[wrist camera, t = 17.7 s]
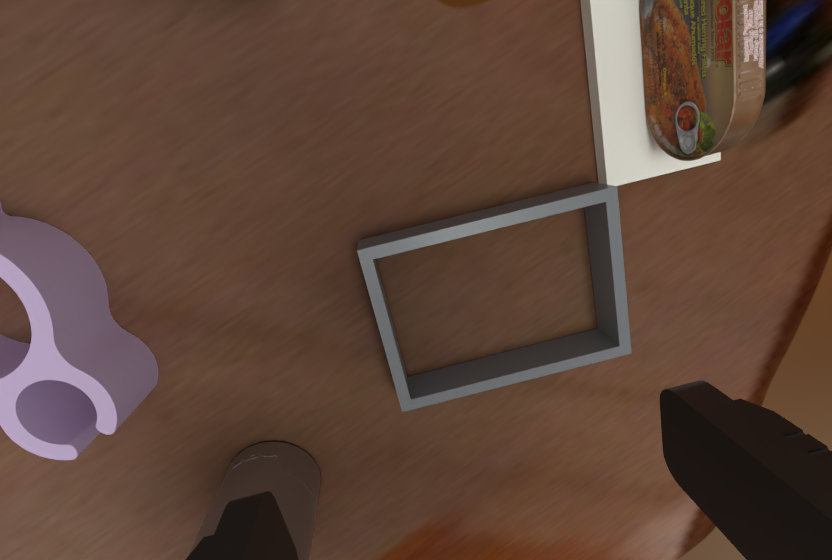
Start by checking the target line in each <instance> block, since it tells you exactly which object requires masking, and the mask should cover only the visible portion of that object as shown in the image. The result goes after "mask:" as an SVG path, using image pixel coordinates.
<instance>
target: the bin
mask: <svg viewBox="0 0 832 560" xmlns="http://www.w3.org/2000/svg"><path fill="white" fill-rule="evenodd" d="M583 207H584V211H585V220H586V229H587V238H588V247H589V256H590V265H591V274H592V283H593V292H594V302H595V311H596V320H597V329H593V330H589V331H585V332H581V333H577V334H573V335H569V336H566V337H562V338H558V339H554V340H550V341H546V342H542V343H538V344H534V345H530V346H526V347H522V348H518V349H515V350H511V351H507V352H503V353H499V354H495V355H491V356H487V357H483V358H479V359H475V360H471V361H467V362H464V363H460V364H456V365H452V366H448V367H444V368H440V369H436V370H432V371H428V372H424V373H420V374H416V375H413V376H409V377H407V374H406V370H405V367H404V363H403V359H402V355H401V352H400V348H399V344H398V340H397V337H396V333H395V329H394V326H393V322H392V318H391V314H390V311H389V307H388V303H387V299H386V296H385V292H384V288H383V285H382V281H381V277H380V273H379V270H378V266H377V262H376V259H377V258H381V257H385V256H389V255H393V254H397V253H401V252H405V251H409V250H413V249H417V248H421V247H425V246H429V245H434V244H438V243H442V242H446V241H450V240H454V239H458V238H462V237H466V236H470V235H474V234H478V233H482V232H486V231H490V230H494V229H498V228H502V227H506V226H510V225H514V224H518V223H522V222H526V221H530V220H534V219H538V218H542V217H546V216H550V215H554V214H558V213H562V212H566V211H570V210H575V209H579V208H583ZM357 252H358V256H359V260H360V263H361V267H362V270H363V274H364V277H365V281H366V285H367V288H368V292H369V295H370V299H371V302H372V306H373V310H374V313H375V317H376V320H377V324H378V327H379V331H380V335H381V338H382V342H383V345H384V349H385V352H386V356H387V360H388V363H389V367H390V370H391V374H392V377H393V381H394V384H395V388H396V392H397V395H398V399H399V402H400V406H401V409H402V412H405V411H409V410H413V409H417V408H421V407H424V406H428V405H432V404H436V403H440V402H444V401H448V400H452V399H456V398H460V397H463V396H467V395H471V394H475V393H479V392H483V391H487V390H491V389H495V388H498V387H502V386H506V385H510V384H514V383H518V382H522V381H526V380H530V379H534V378H537V377H541V376H545V375H549V374H553V373H557V372H561V371H565V370H569V369H573V368H576V367H580V366H584V365H588V364H592V363H596V362H600V361H604V360H608V359H611V358H615V357H619V356H623V355H627V354H631V342H630V331H629V319H628V307H627V296H626V284H625V272H624V261H623V249H622V237H621V226H620V214H619V202H618V190H617V186H613V185H607V184H600V183H594V182H592V183H588V184H584V185H580V186H576V187H572V188H568V189H564V190H560V191H556V192H552V193H547V194H543V195H539V196H535V197H531V198H527V199H523V200H519V201H515V202H511V203H507V204H503V205H499V206H495V207H491V208H487V209H483V210H479V211H475V212H471V213H467V214H462V215H458V216H454V217H450V218H446V219H442V220H438V221H434V222H430V223H426V224H422V225H418V226H414V227H410V228H406V229H402V230H398V231H394V232H390V233H386V234H381V235H377V236H373V237H369V238H365V239H361V240H359V241H358V247H357Z"/></svg>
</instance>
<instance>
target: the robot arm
mask: <svg viewBox="0 0 832 560" xmlns="http://www.w3.org/2000/svg"><path fill="white" fill-rule="evenodd" d="M660 412H661V427H662V442H663V454H664V458H665V461H666V464H667V466H668V468H669V471H670V472H671V474H672V476H673V478H674V479H675V481H676V482H677V483H678V484H679V486H680V487H681V488H682V489H683V490H684V491H685V492H686V493H687V495H688V496H689V497H690V498H691V499H692V500H693V501H694V502H695V503H696V504H697V506H698V507H699V508H700V509H701V510H702V511H703V512H704V513H705V514H706V515H707V517H708V518H709V519H710V520H711V521H712V522H713V523H714V524H715V525H716V526H717V528H718V529H719V530H720V531H721V532H722V533H723V534H724V535H725V536H726V537H727V539H728V540H729V541H730V542H731V543H732V544H733V545H734V546H735V547H736V548H737V550H738V551H739V552H740V553H741V554H742V555H743V556H744V557H745V558H746V559H747V560H832V451H829V450H828V448H827V446H826V445H824V444H823V443H821V442H820V441H818V440H817V439H815V438H814V437H812V436H811V435H809V434H807V435H805V434H804V433H803V430H802V429H800V428H798V427H797V426H795V425H794V424H792V423H791V422H789V421H788V420H786V419H785V418H783V417H781V416H780V415H779V414H777V413H775V412H774V411H771V410H769V409H766V408H764V407H761V406H758V405H756V404H753V403H750V402H748V401H745V400H742V399H737V400H732V399H731V398H729V397H728V396H726V395H725V394H724V393H722V392H721V391H719V390H718V389H716V388H715V387H714V386H712V385H711V384H709V383H707V382H705V381H696V382H692V383H688V384H684V385H680V386H676V387H673V388H669V389H665V390H663V391H662V392H661V394H660ZM320 484H321V476H320V471H319V468H318V466H317V464H316V462H315V461H314V459H313V458H312V457H311V456H310V455H309V454H308V453H307V452H305V451H304V450H302V449H300V448H299V447H296V446H294V445H291V444H288V443H283V442H264V443H258V444H255V445H253V446H250V447H248V448H246V449H245V450H243V451H241V452H240V453H239V454H238V455H237V456H236V457H235V458H234V459H233V461H232V462H231V464H230V465H229V468H228V470H227V472H226V474H225V476H224V479H223V481H222V483H221V485H220V487H219V490H218V492H217V494H216V496H215V498H214V500H213V503H212V505H211V507H210V509H209V511H208V514H207V516H206V518H205V520H204V522H203V525H202V527H201V529H200V531H199V533H198V536H197V538H196V540H195V542H194V545H193V547H192V549H191V551H190V553H189V556H188V557H187V559H186V560H309V556H310V550H311V543H312V537H313V530H314V524H315V517H316V511H317V504H318V498H319V491H320Z"/></svg>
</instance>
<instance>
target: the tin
mask: <svg viewBox="0 0 832 560" xmlns="http://www.w3.org/2000/svg"><path fill="white" fill-rule="evenodd" d="M639 13H640V28H641V43H642V57H643V72H644V88H645V104H646V115H647V121H648V125H649V128H650V131H651V133H652V135H653V138H654V139H655V141H656V143H657V144H658V145H659V147H660V148H661V149H662V150H663V151H664V152H665V153H667V154H668V155H669V156H671V157H673V158H675V159H678V160H682V161H693V160H697V159H700V158H702V157H704V156H707V155H712V154H716V153H719V152H722V151H724V150H727V149H729V148H731V147H733V146H734V145H736V144H737V143H738V142H740V141H741V140H742V139H743V138H744V137H745V136H746V135H747V134H748V133H749V131H750V130H751V129H752V127H753V126H754V124H755V122H756V121H757V119H758V117H759V114H760V111H761V109H762V105H763V101H764V96H765V74H766V0H640V5H639Z"/></svg>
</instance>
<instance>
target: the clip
mask: <svg viewBox="0 0 832 560" xmlns="http://www.w3.org/2000/svg"><path fill="white" fill-rule="evenodd" d="M0 277H1V278H2V279H3V280H4V281H5V282H6V283H7V284H9V286H10V287H11V288H12V289H13V290H14V291H15V292H16V294H17V295H18V296H19V298H20V299H21V301H22V303H23V304H24V306H25V308H26V311H27V313H28V316H29V319H30V323H31V331H32V337H31V344H29V343H23V342H19V341H16V340H13V339H10V338H8V337H5V336H3V335H1V334H0V425H1V427H2V429H3V430H4V431H5V433H6V434H7V435H8V436H9V437H10V438H11V439H12V440H13V441H14V442H15V443H17V444H18V445H19V446H21V447H22V448H24V449H26V450H27V451H29V452H31V453H34V454H36V455H39V456H42V457H45V458H50V459H56V460H73V459H75V458H77V456H78V455H79V454H80V453H81V452H82V451H83V450H84V449H85V448H86V447H87V446H88V445H89V444H90V443H91V442H92V441H93V440H94V439H95V438H96V437H97V436H98V435H99V434H100V432H101V433H104V434H107V435H110V434H113V433H114V432H115V431H116V430H117V429H118V427H119V426H120V425H121V424H122V423H123V422H124V421H125V420H126V419H127V418H128V416H129V415H130V414H131V413H132V412H133V411H134V410H135V409H136V408H137V407H138V406H139V404H140V403H141V402H142V401H143V400H144V399H145V398H146V397H147V396H148V395H149V393H150V392H151V391H152V390H153V389H154V388H155V387H156V385H157V382H158V376H159V371H158V365H157V362H156V359H155V357H154V355H153V353H152V352H151V350H150V349H149V348H148V347H147V346H146V345H145V344H144V343H143V342H142V341H141V340H140V339H139V338H137V337H136V336H134V335H132V334H131V333H129V332H127V331H125V330H124V329H122V328H121V327H120V326H119V325H118V324H117V323H116V322H115V320H114V319H113V317H112V315H111V313H110V310H109V302H108V291H107V286H106V283H105V280H104V277H103V275H102V273H101V271H100V269H99V267H98V265H97V264H96V262H95V261H94V259H93V258H92V257H91V255H90V254H89V253H88V252H87V251H86V250H85V249H84V248H83V247H82V246H81V245H80V244H79V243H78V242H77V241H76V240H74V239H73V238H72V237H70V236H69V235H68V234H66V233H64V232H63V231H61V230H59V229H58V228H56V227H54V226H51V225H49V224H47V223H44V222H41V221H38V220H35V219H31V218H26V217H19V216H9V215H6V214H5V213H4V212H3V210H2V207H1V202H0Z"/></svg>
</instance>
